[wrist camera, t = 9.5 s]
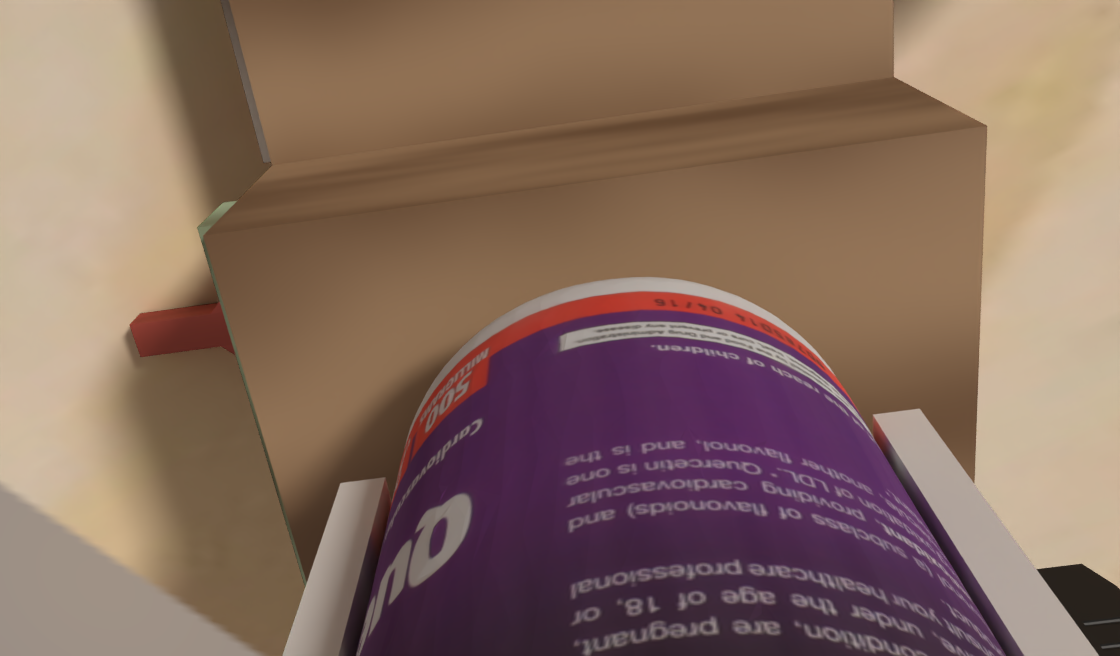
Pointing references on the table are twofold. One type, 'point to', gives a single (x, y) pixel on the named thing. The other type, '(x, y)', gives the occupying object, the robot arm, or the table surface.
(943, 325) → the step stand
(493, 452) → the pill bottle
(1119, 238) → the table surface
